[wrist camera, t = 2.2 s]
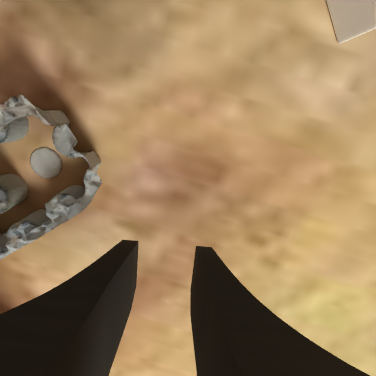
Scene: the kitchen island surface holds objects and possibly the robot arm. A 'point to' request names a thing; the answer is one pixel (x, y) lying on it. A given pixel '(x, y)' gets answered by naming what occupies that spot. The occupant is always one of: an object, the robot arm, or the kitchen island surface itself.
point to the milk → (352, 17)
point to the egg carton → (41, 174)
